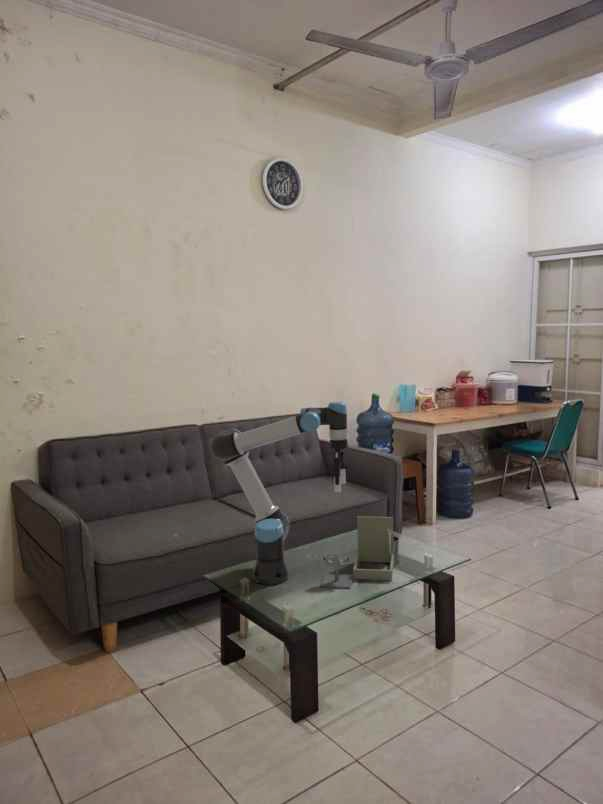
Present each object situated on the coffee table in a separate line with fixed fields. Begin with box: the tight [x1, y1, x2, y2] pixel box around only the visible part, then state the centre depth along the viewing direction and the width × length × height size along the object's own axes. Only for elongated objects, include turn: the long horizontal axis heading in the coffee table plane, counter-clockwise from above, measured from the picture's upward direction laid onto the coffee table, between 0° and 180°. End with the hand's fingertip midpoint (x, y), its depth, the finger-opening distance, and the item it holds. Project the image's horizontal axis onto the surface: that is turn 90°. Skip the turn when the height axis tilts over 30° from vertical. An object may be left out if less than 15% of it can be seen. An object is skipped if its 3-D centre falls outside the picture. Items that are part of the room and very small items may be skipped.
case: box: [352, 515, 395, 581], centre depth 248 cm, size 16×20×20 cm
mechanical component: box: [323, 554, 350, 581], centre depth 238 cm, size 3×10×10 cm, turn 79°
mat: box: [319, 573, 354, 589], centre depth 239 cm, size 12×12×1 cm
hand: (340, 487), depth 251 cm, fingers open, 13 cm apart
